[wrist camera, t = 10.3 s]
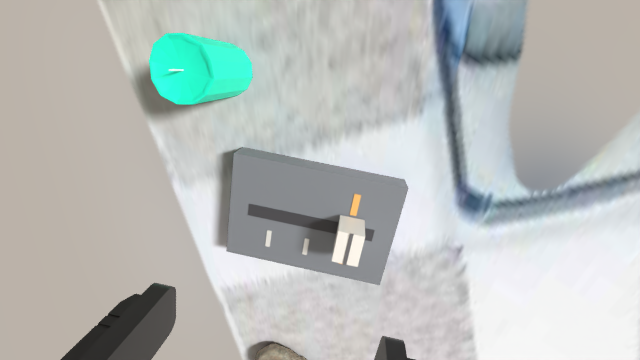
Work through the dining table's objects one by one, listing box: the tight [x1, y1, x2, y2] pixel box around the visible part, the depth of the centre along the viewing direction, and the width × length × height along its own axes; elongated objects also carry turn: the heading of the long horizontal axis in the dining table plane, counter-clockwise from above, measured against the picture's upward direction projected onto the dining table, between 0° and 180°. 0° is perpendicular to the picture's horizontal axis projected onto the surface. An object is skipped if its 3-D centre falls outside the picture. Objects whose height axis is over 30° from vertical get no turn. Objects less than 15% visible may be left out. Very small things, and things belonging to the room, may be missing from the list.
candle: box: [149, 33, 253, 104], centre depth 31 cm, size 6×6×12 cm
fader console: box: [227, 147, 408, 285], centre depth 40 cm, size 14×21×3 cm, turn 80°
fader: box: [332, 215, 365, 267], centre depth 36 cm, size 4×3×4 cm
